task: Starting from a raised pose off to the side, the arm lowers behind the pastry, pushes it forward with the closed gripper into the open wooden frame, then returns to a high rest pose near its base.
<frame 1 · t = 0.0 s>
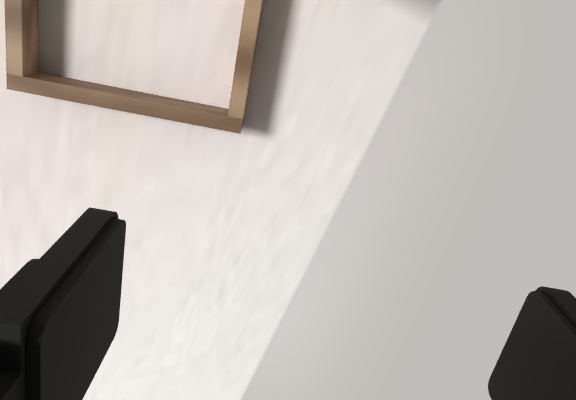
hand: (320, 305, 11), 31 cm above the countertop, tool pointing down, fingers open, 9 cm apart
open wooden frame: (139, 41, 38), on the countertop
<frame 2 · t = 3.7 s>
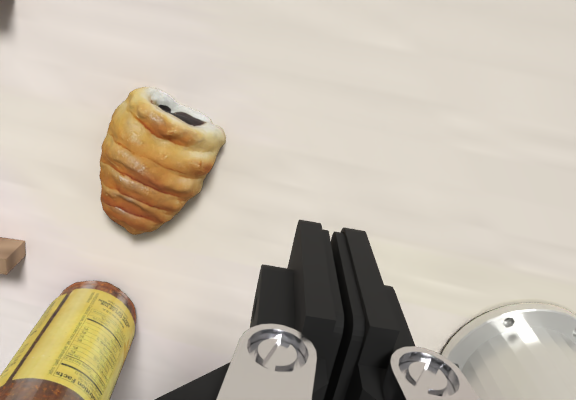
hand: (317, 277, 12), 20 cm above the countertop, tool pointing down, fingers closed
sauce bottle: (102, 308, 36), on the countertop
pastry: (164, 153, 32), on the countertop
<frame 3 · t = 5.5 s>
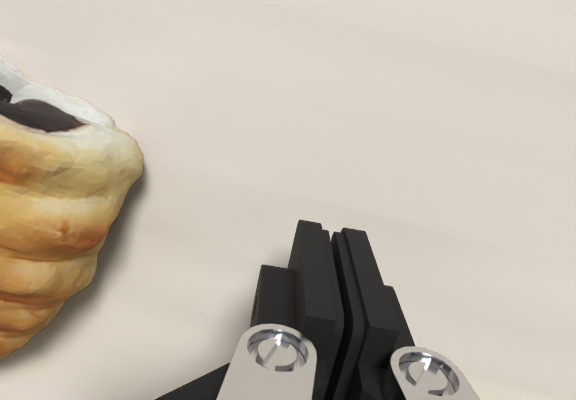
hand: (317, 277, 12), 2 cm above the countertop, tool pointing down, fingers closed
pastry: (21, 194, 14), on the countertop
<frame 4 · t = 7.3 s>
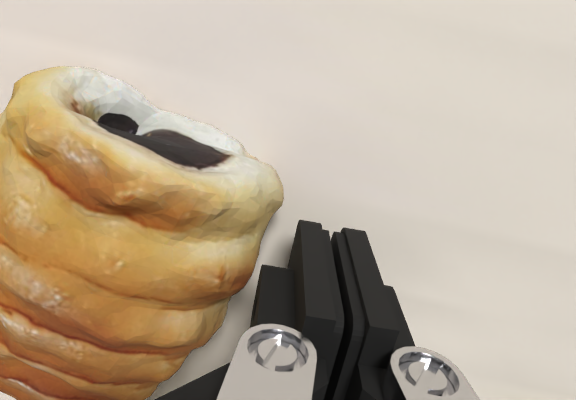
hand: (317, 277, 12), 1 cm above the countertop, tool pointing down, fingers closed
pastry: (133, 229, 13), on the countertop
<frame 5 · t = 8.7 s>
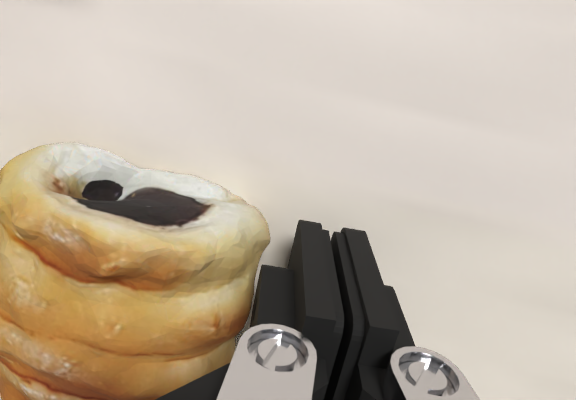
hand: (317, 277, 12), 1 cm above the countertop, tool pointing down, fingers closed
pastry: (138, 279, 14), on the countertop, touching gripper
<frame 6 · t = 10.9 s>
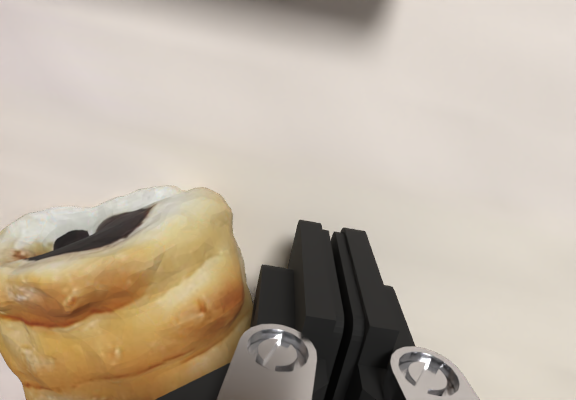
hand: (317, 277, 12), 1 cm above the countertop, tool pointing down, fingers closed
pastry: (162, 304, 14), on the countertop
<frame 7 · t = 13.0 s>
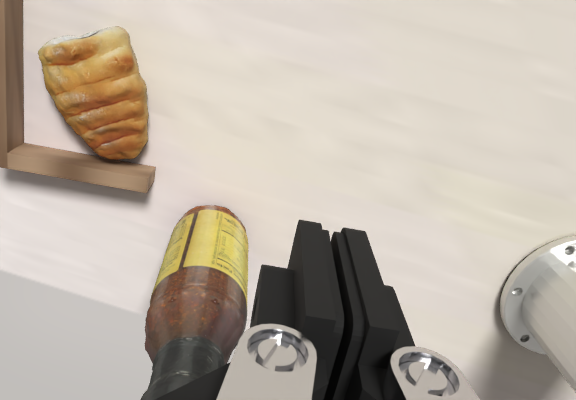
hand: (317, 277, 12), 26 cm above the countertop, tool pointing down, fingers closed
sauce bottle: (214, 232, 41), on the countertop
pastry: (108, 84, 36), on the countertop
open wooden frame: (81, 47, 34), on the countertop
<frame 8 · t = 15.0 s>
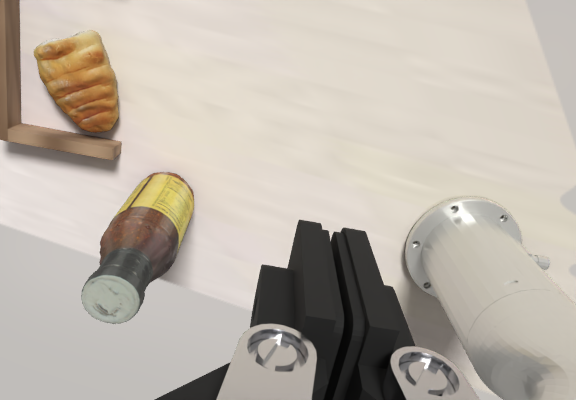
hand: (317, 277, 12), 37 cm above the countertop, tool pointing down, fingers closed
sauce bottle: (169, 195, 51), on the countertop
pastry: (88, 75, 47), on the countertop
open wooden frame: (63, 49, 45), on the countertop
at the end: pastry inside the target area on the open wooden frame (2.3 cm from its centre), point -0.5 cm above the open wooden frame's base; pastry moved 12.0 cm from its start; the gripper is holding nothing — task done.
